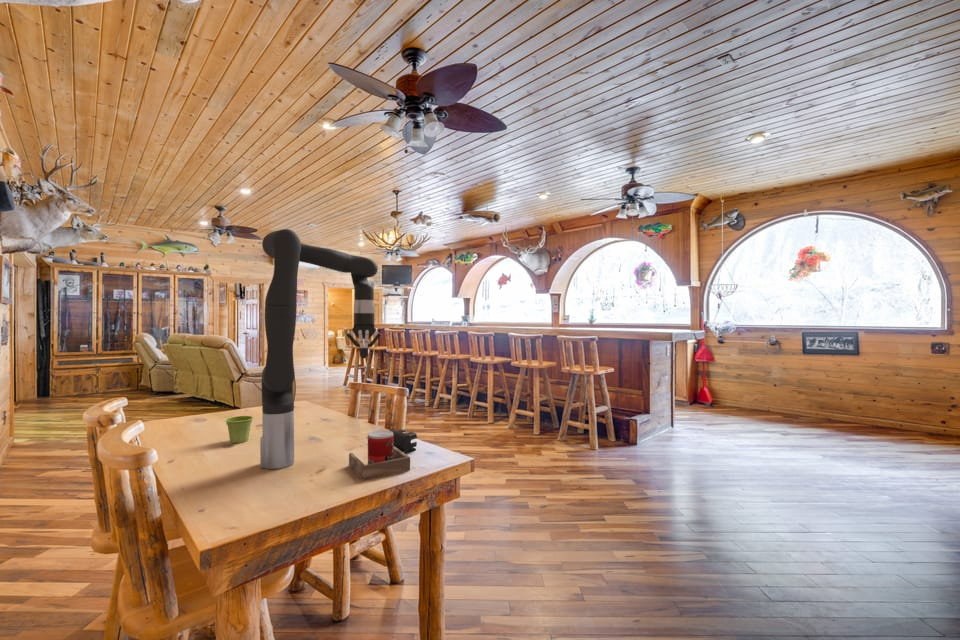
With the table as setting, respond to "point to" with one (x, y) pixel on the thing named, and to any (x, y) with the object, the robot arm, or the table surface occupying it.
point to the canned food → (380, 446)
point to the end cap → (404, 440)
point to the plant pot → (239, 428)
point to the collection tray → (380, 465)
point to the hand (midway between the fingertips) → (364, 358)
